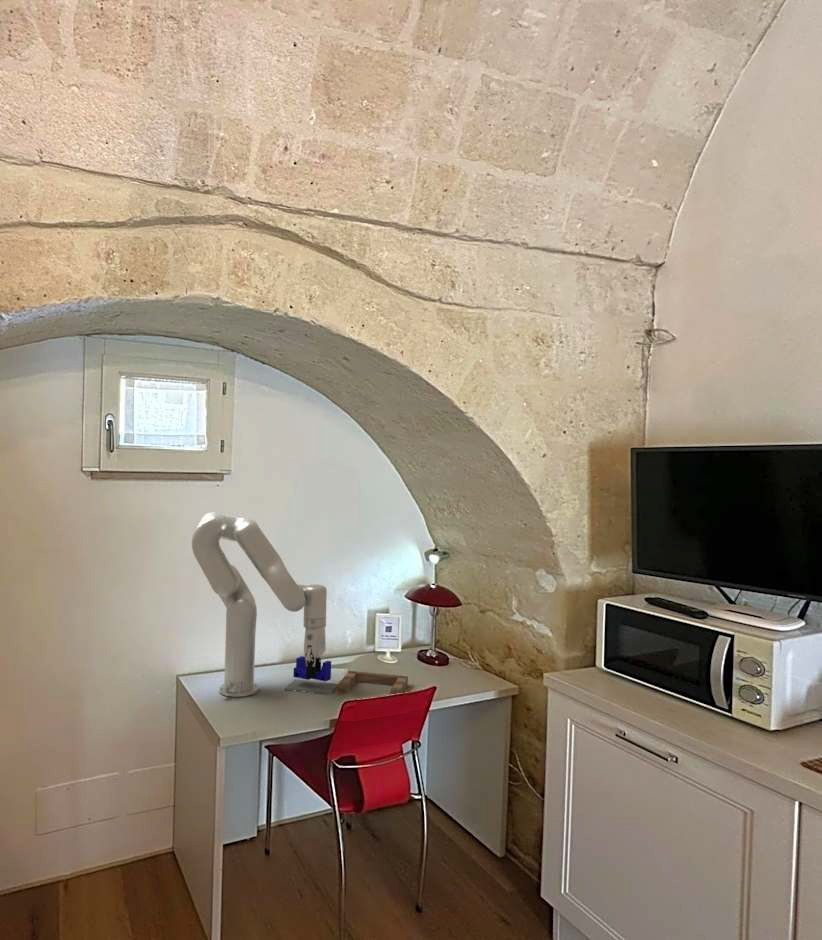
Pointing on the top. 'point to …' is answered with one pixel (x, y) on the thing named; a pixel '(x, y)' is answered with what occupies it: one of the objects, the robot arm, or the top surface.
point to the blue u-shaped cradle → (321, 675)
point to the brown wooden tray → (372, 681)
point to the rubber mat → (312, 686)
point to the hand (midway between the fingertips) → (313, 675)
